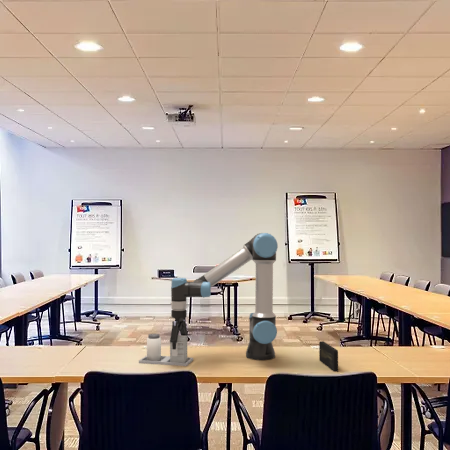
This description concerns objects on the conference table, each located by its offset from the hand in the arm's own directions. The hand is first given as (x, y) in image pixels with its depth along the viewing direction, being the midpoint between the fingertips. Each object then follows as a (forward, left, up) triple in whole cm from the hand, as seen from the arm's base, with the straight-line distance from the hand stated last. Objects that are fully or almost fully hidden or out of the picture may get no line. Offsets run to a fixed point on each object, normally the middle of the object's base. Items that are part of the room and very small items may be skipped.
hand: (179, 352), depth 251 cm
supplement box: (0, 0, -5) cm, 5 cm away
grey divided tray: (+7, 0, -6) cm, 9 cm away
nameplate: (-72, -14, -6) cm, 73 cm away
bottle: (+13, 0, -5) cm, 14 cm away
